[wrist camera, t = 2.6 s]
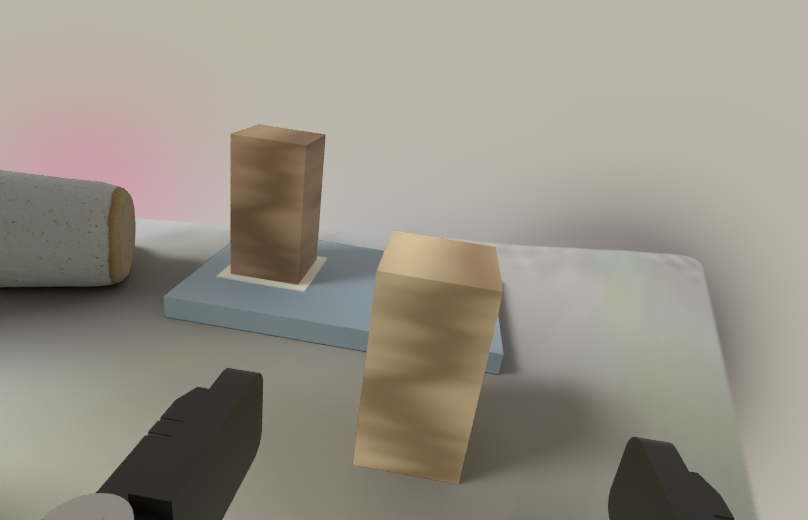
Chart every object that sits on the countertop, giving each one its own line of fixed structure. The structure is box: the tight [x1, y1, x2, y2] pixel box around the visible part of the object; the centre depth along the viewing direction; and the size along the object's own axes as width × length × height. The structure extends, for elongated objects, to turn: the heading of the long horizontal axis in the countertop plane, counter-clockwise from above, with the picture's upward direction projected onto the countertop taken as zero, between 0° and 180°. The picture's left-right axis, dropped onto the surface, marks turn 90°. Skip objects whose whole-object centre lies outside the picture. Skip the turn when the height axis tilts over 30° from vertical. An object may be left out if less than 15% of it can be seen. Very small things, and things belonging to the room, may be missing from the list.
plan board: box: [163, 240, 504, 374], centre depth 39 cm, size 22×14×2 cm, turn 84°
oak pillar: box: [353, 231, 503, 484], centre depth 24 cm, size 5×5×10 cm
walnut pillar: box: [231, 125, 325, 285], centre depth 37 cm, size 5×5×10 cm
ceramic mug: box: [0, 170, 135, 287], centre depth 36 cm, size 11×8×8 cm
